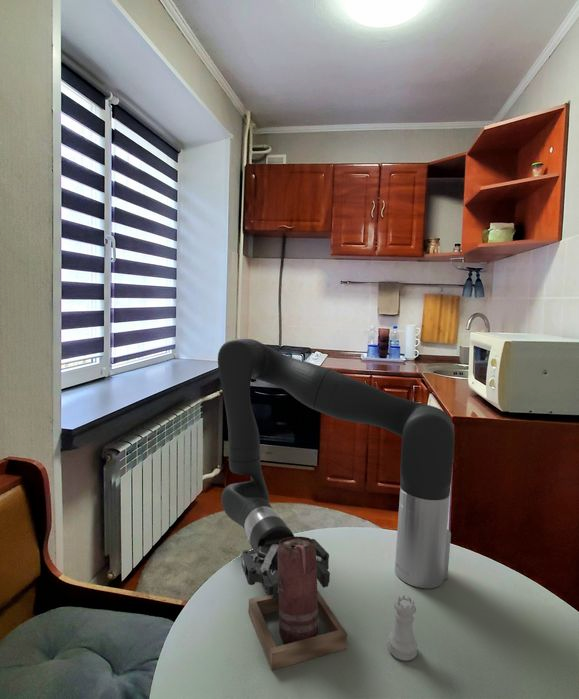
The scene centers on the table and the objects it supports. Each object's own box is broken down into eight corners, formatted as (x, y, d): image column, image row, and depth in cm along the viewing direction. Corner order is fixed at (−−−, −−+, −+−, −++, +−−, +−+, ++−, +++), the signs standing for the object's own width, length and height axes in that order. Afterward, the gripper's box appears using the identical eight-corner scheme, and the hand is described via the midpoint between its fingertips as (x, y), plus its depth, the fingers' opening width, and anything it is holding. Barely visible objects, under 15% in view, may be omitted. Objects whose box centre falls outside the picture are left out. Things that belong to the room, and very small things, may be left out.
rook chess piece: (418, 665, 61) (422, 614, 61) (387, 659, 62) (390, 608, 62) (415, 642, 66) (419, 594, 65) (386, 637, 67) (389, 589, 66)
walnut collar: (313, 598, 75) (313, 585, 75) (346, 649, 64) (346, 633, 64) (248, 613, 71) (248, 599, 70) (271, 670, 59) (272, 653, 59)
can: (292, 652, 61) (289, 551, 63) (273, 632, 67) (270, 539, 68) (327, 639, 64) (323, 543, 66) (305, 621, 69) (303, 532, 71)
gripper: (232, 520, 77) (258, 572, 62) (303, 510, 82) (343, 556, 67) (231, 559, 78) (256, 620, 62) (302, 547, 83) (341, 600, 68)
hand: (301, 587), depth 65 cm, fingers open, 8 cm apart
